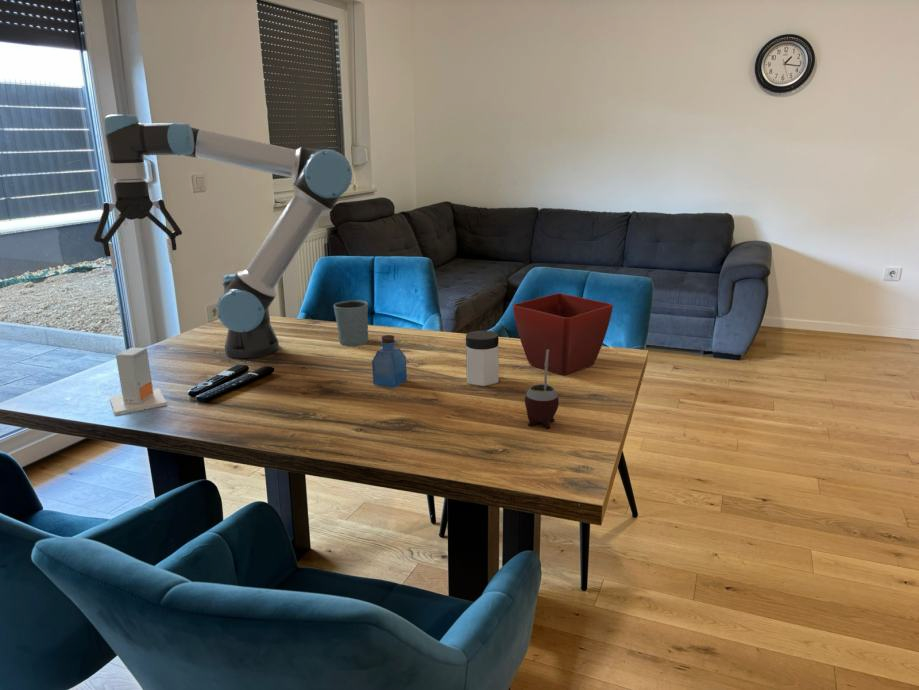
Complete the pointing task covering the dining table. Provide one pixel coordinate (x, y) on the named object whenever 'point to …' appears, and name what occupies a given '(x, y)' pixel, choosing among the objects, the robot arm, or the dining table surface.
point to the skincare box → (134, 375)
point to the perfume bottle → (389, 364)
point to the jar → (482, 358)
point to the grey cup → (352, 322)
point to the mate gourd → (541, 402)
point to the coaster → (149, 403)
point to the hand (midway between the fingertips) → (143, 266)
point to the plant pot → (562, 331)
